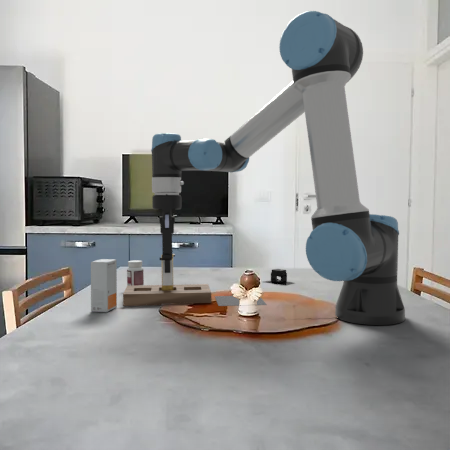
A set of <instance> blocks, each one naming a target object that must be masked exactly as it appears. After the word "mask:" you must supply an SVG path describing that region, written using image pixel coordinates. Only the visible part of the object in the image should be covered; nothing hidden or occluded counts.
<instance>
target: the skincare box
mask: <svg viewBox="0 0 450 450" xmlns="http://www.w3.org/2000/svg"><path fill="white" fill-rule="evenodd" d="M117 267H118V266H117V259H112V258H109V259H107V258H101V259H96V260H94V261H91V262H90V312H93V313H95V312H96V313H108V312H110V311H111V310H114V309H116V308H117V307H118V305H117V303H118V299H117V297H118V293H117V291H118V290H117V287H118V285H117V284H118V283H117V281H118V279H117V275H118V274H117V272H118V271H117V270H118V269H117Z"/></svg>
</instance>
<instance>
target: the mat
mask: <svg viewBox="0 0 450 450" xmlns="http://www.w3.org/2000/svg"><path fill="white" fill-rule="evenodd" d="M233 296H234V295H219V296H218V295H217V296H216V295H215V296H214V299H215V301H216V304H217V305H218V307H228V306H229V307H231V306H232V307H235V306H238V307H239V299H237V298H235V297H233ZM256 306H267V303H266V301H264V300H263V298H262V297H261V298H260V299H259V300H258V301H257V305H256Z"/></svg>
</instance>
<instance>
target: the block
mask: <svg viewBox="0 0 450 450" xmlns="http://www.w3.org/2000/svg"><path fill="white" fill-rule="evenodd" d="M170 303H177V304H212V291H211V288H210V285H209V284H208V283H201V284H198V283H197V284H195V283H193V284H191V283H190V284H173V290H167V291H162V284H151V285H150V284H146V285H145V284H144V285H135V286H127V285H126V287H125V290H124V291H123V293H122V304H123V305H122V306H123V307H134V306H135V307H139V306H141V307H142V306H149V307H150V306H162V305H168V304H170ZM170 305H171V304H170Z"/></svg>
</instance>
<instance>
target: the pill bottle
mask: <svg viewBox="0 0 450 450" xmlns="http://www.w3.org/2000/svg"><path fill="white" fill-rule="evenodd" d="M127 266H128V267H127V269H126V287H127V286H135V285H145V283H144V279H145V278H144V277H145V276H144V267H142V266H143V260H137V259H136V260H135V259H134V260H129V261H127Z"/></svg>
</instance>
